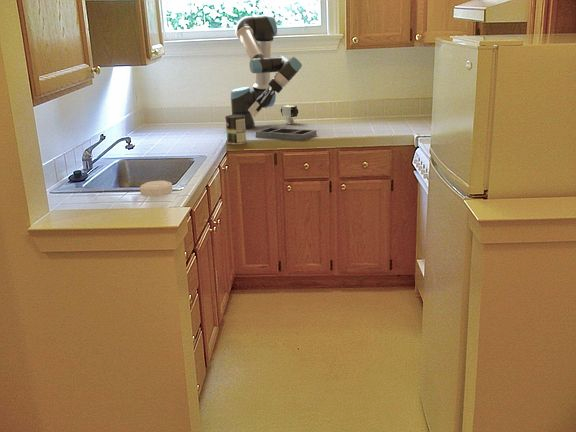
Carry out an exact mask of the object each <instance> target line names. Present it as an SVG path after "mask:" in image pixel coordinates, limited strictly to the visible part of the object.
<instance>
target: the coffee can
mask: <svg viewBox="0 0 576 432" xmlns="http://www.w3.org/2000/svg"><path fill="white" fill-rule="evenodd" d="M225 126H226V127H225V129H226V141H227V142H226V143H227V144H228V145H242V144H246V143H247V133H246V132H247V131H246V129H245V115H232V114H229V115H225Z"/></svg>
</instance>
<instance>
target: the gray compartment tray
mask: <svg viewBox="0 0 576 432" xmlns="http://www.w3.org/2000/svg"><path fill="white" fill-rule="evenodd" d="M317 136H318V134H317V130H315V129H305V128H304V129H301V128H287V127H286V128H285V127H272V126H271V127H267V128H263V129H261V130H260V129H259V130H257V131H255V138H260V137H262V138H261V139H275V140H288V141H289V140H290V141H307V140H309V139H312V138H314V137H317Z"/></svg>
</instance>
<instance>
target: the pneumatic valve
mask: <svg viewBox="0 0 576 432" xmlns="http://www.w3.org/2000/svg"><path fill="white" fill-rule="evenodd" d="M280 113H281V117H285V124H287V125H293V124H294V123H295V120H294V117H296V118H297V117H298V114H299V108H298V106H297V105H291V104H290V103H288V104H286V105H281V108H280Z"/></svg>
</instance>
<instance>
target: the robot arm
mask: <svg viewBox="0 0 576 432" xmlns="http://www.w3.org/2000/svg"><path fill="white" fill-rule="evenodd" d="M234 30H235V32H234V33H235V36H236V38H237V39H238V41H240V42H241V44H242V46H243V47H244V50H245V52H246V54H247V55H248V59H250V60H249V70H250V72H251V73H252V74H255V83H254V84H253V85H252V86H253V88H251V87H249V86H243V87H238V88H234V89H232V90H231V92H230V102H231V104H230V105H231V115H245V129H251V128H252V129H253V128H255V127H256V123H255V121H254V118H255V117H256V116H258V114H259V113H260V111H261V110H262V109H267V108H272V107H273V106H274V105H275V103H276V99H277V98H276V97H277V95H276V94H279V93H280V92H281V91H282V90H283V88H285V87H286V86H287V85H288V84H289V82H290V81H291V80H292V79H293V78H294V77H295V76H296V74H298V72H299V71H300V70H301V69H302V67H303V64H302V63H301V62H300V60H299V59H297V58H296V57H295V56H291V57H289V58H288V57H287V56H285V55H278V56H277V57H271V56H272V55H271V51H272V50H271V48H272V46H271V45H272V42H273V41H274V38H275V37H277V35H278V26H277V22H276V19H275V17H274V16H272V15H271V14H270V15H269V14H268V15H266V14H264V15H263V14H261V15H246V16H243V17H242V18H241V19H239V20H238V22H237V24H236V26H235V29H234ZM271 73H275V75H274V76H273V78H271Z"/></svg>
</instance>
